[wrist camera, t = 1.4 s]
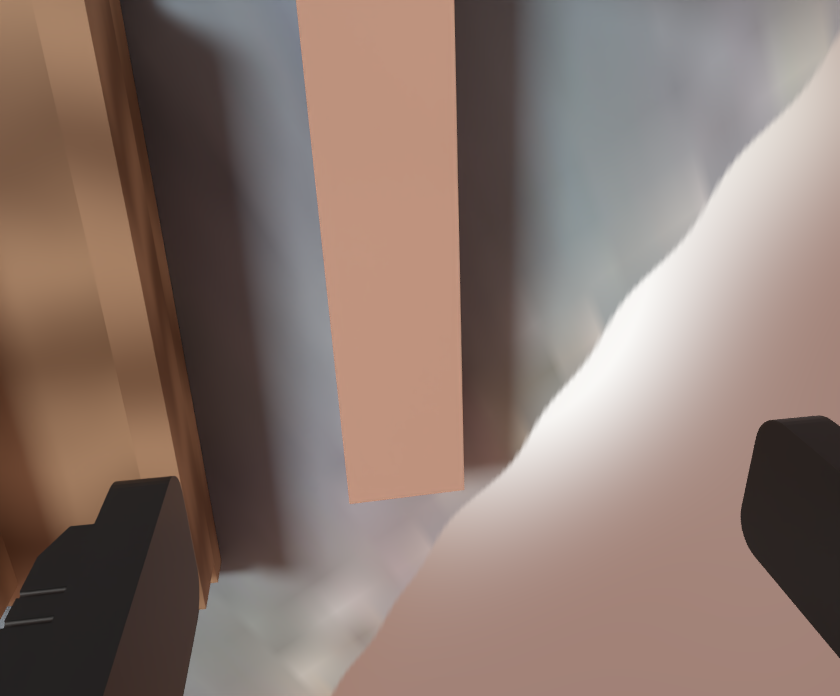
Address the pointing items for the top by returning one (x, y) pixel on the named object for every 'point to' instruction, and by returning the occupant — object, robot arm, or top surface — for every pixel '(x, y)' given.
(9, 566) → the rack
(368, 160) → the clay strip
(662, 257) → the top surface
